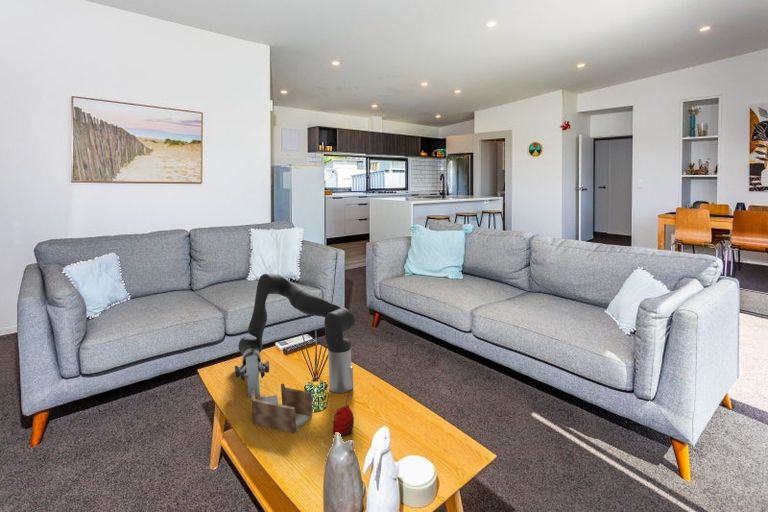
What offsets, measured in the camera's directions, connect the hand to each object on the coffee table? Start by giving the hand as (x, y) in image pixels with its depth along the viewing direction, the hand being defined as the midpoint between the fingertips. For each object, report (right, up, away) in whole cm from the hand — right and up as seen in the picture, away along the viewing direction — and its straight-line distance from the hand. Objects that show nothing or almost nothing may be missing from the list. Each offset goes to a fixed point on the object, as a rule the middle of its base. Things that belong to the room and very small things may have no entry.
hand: (252, 376), depth 163 cm
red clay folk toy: (+38, -13, -21) cm, 45 cm away
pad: (+6, -9, -1) cm, 11 cm away
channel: (+15, -11, -13) cm, 23 cm away
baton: (-1, -9, +4) cm, 9 cm away
